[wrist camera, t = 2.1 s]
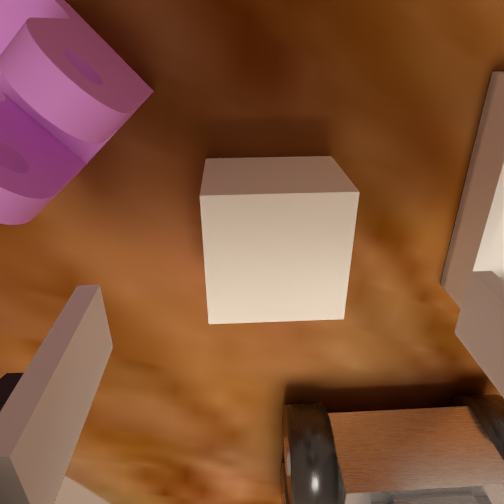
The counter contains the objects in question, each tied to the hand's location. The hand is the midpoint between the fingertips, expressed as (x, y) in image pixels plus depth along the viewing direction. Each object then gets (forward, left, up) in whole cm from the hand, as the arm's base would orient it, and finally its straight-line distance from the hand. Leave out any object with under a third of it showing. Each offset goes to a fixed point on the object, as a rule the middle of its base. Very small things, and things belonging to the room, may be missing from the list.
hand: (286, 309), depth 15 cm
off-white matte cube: (0, 0, -8) cm, 8 cm away
